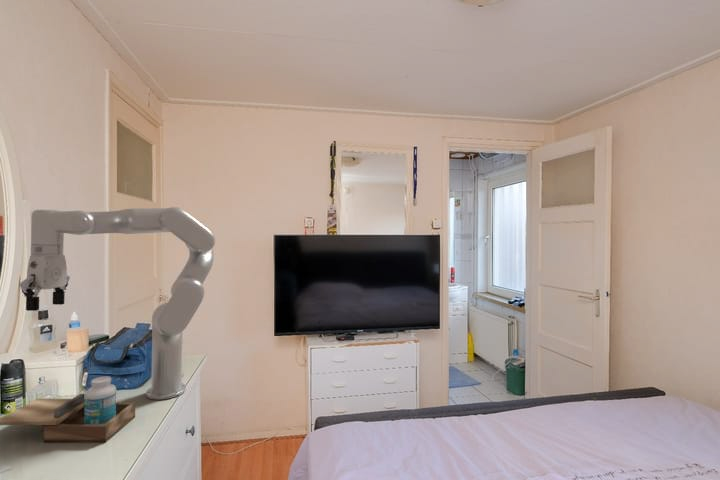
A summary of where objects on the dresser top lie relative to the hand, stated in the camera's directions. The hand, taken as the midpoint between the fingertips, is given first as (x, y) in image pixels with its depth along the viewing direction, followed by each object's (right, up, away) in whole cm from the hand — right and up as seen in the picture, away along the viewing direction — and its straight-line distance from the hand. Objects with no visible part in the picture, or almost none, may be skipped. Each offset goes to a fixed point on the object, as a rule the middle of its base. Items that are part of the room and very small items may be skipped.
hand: (46, 307), depth 111 cm
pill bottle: (+20, -33, -6) cm, 39 cm away
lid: (+6, -29, -7) cm, 30 cm away
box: (+18, -34, -6) cm, 39 cm away
